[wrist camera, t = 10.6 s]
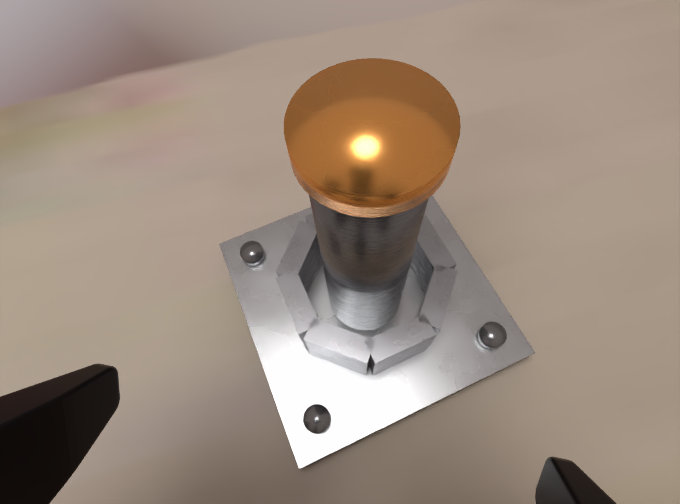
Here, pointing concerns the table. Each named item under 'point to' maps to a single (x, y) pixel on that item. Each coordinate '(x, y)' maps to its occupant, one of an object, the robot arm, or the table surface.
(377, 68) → the copper-capped metal post
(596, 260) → the table surface
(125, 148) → the table surface
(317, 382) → the silver bolted socket base
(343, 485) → the table surface
